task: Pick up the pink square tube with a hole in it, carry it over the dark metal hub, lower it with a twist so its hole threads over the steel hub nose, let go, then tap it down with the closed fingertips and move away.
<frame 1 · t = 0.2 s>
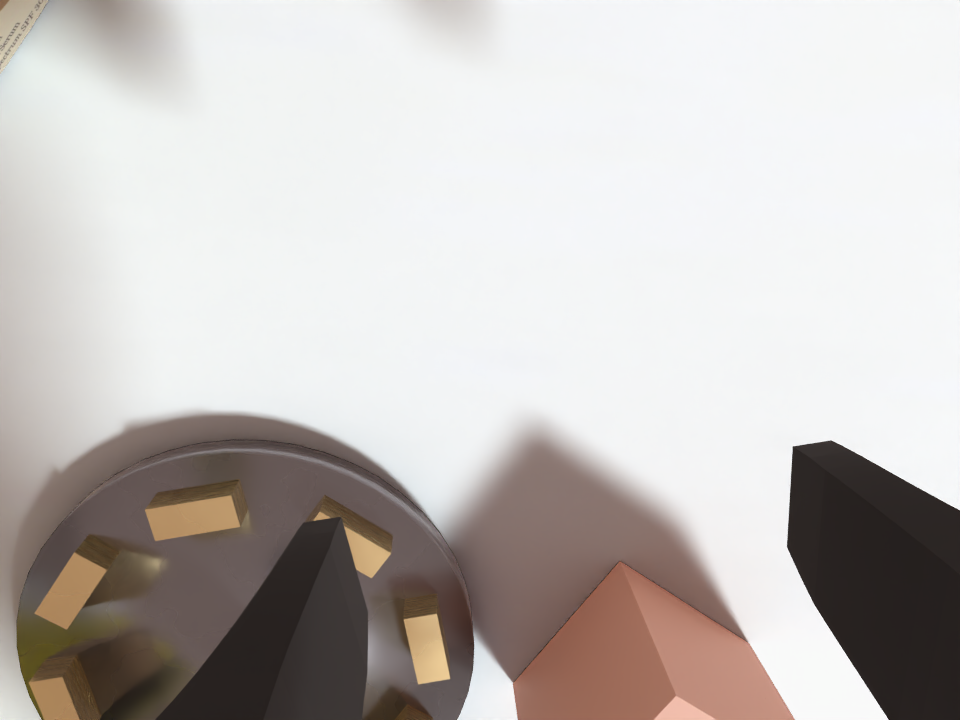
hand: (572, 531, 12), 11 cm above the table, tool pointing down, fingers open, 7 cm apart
pink square tube: (631, 663, 26), on the table
hub: (257, 637, 25), on the table
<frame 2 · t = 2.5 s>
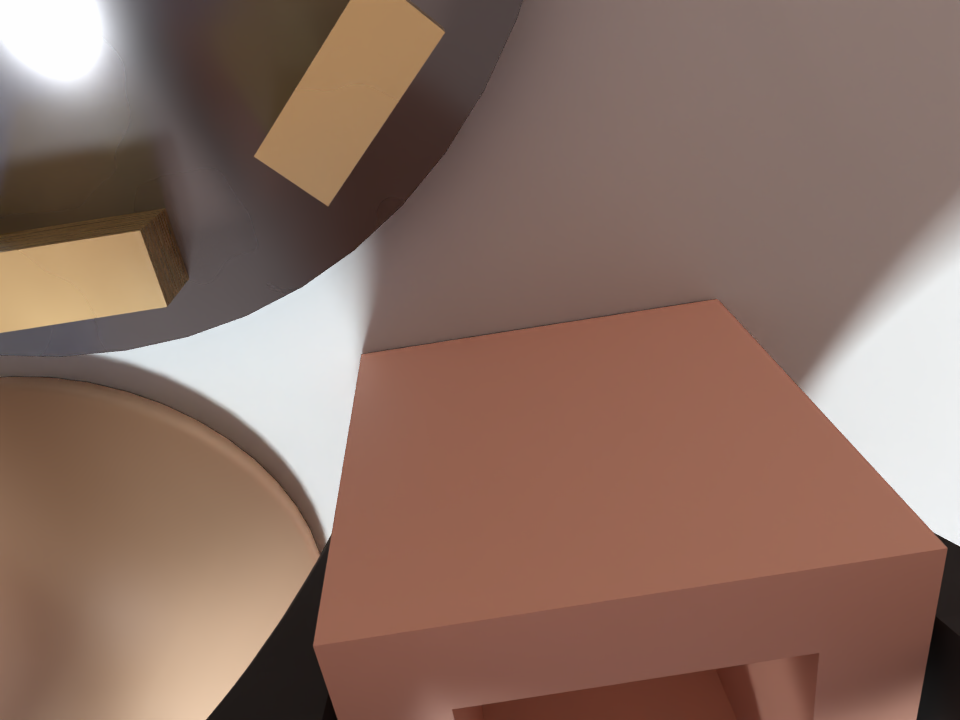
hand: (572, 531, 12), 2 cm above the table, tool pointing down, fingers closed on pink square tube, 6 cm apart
pink square tube: (556, 473, 14), on the table, touching gripper
cork coaster: (79, 592, 14), on the table
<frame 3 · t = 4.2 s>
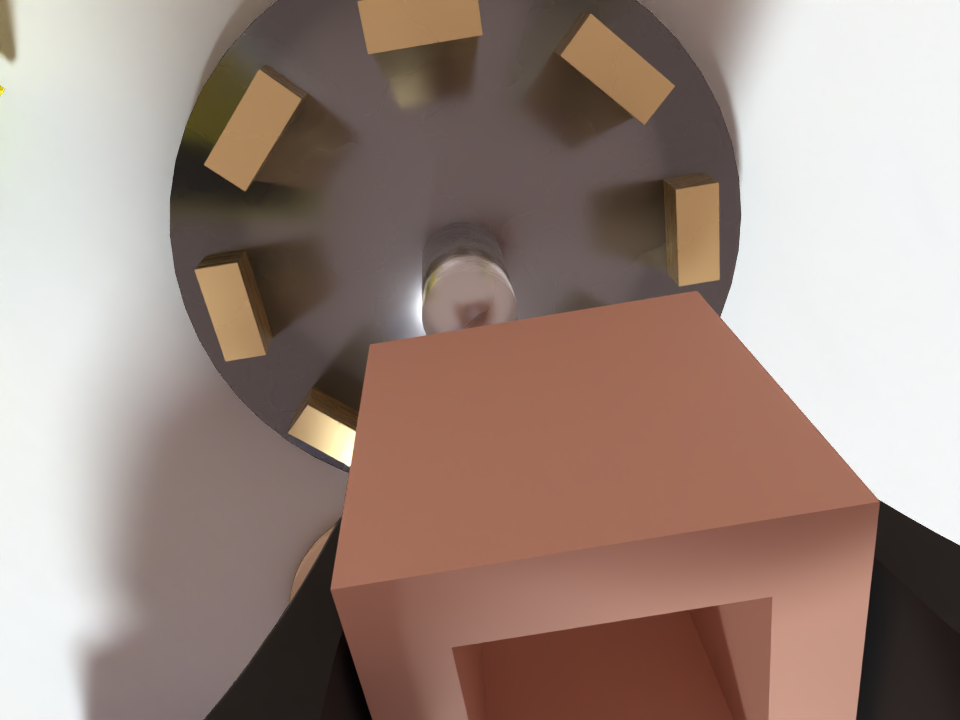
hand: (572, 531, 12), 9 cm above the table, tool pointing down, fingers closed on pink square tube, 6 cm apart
pink square tube: (550, 454, 15), point 7 cm above the table, touching gripper
cork coaster: (429, 605, 25), on the table
hub: (460, 248, 20), on the table
when the fingers open (3 cm above the table, at t = 6.4 s): pink square tube stays where it is, resting on hub.
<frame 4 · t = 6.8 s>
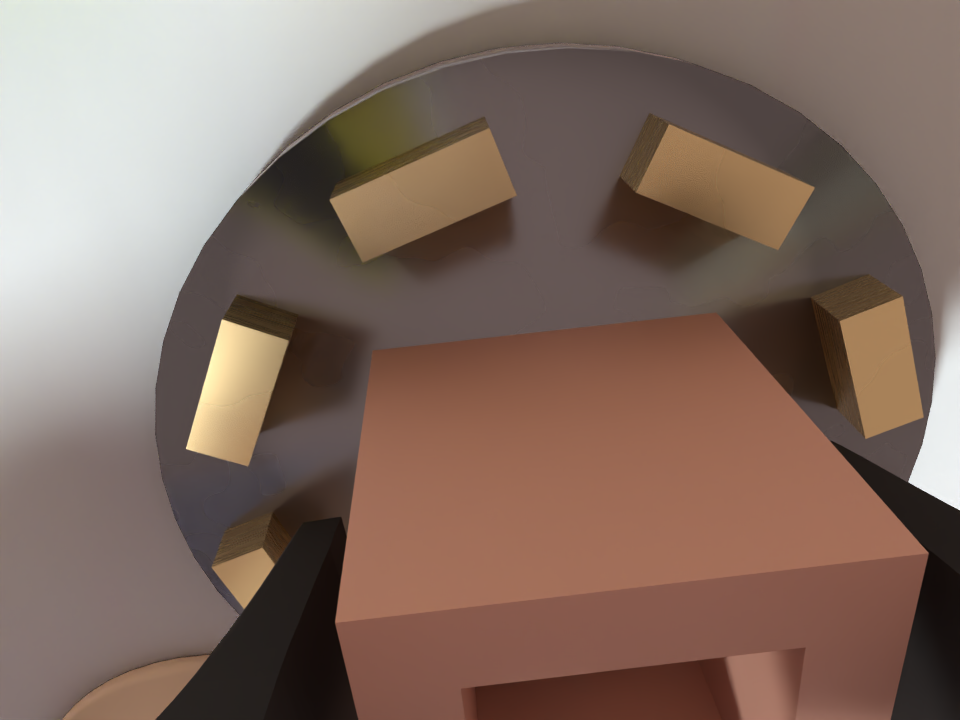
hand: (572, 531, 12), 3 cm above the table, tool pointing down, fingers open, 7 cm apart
pink square tube: (553, 473, 14), point 1 cm above the table, touching hub
hub: (545, 431, 15), on the table
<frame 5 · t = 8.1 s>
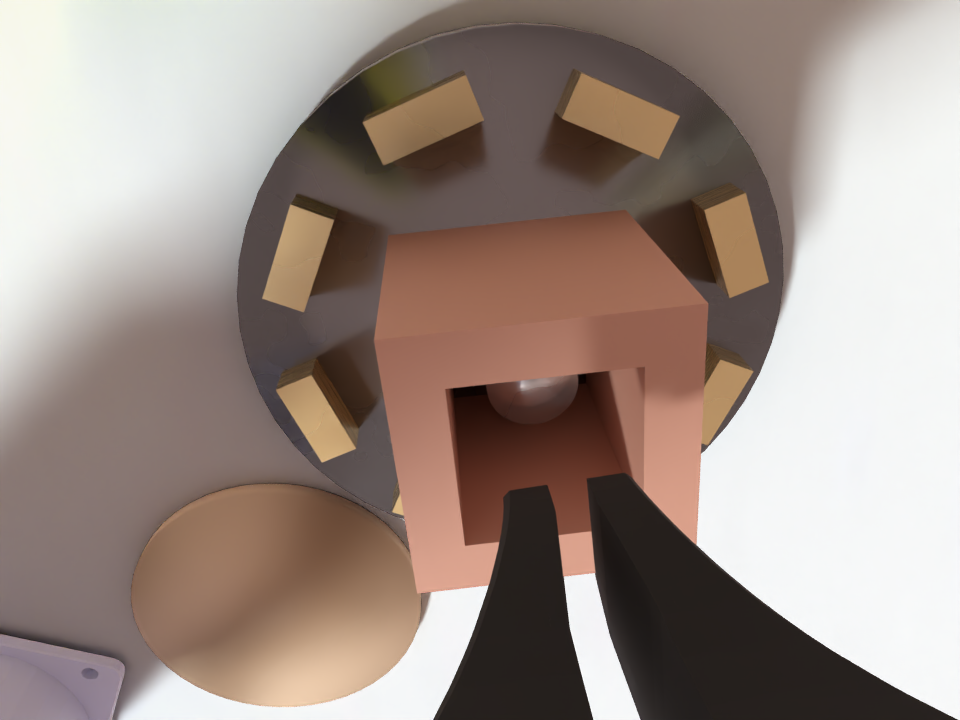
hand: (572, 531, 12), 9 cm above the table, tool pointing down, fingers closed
pink square tube: (515, 330, 20), point 1 cm above the table, touching hub
cork coaster: (281, 597, 25), on the table
hub: (511, 305, 20), on the table
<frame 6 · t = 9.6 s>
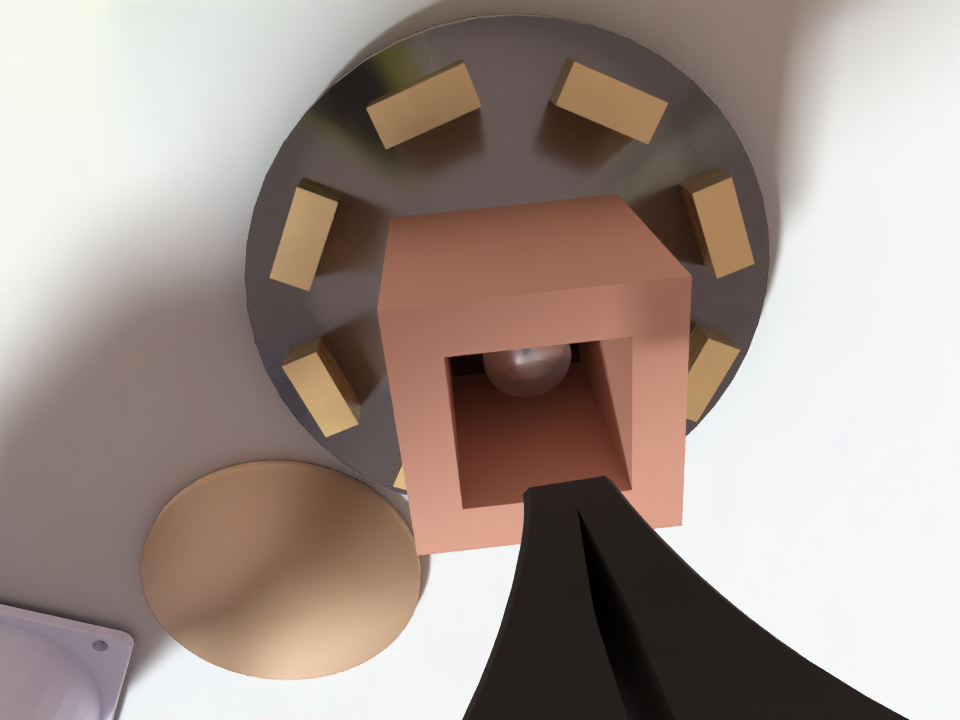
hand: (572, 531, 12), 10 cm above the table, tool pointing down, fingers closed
pink square tube: (512, 310, 21), point 1 cm above the table, touching hub
cork coaster: (285, 572, 25), on the table
hub: (507, 287, 21), on the table
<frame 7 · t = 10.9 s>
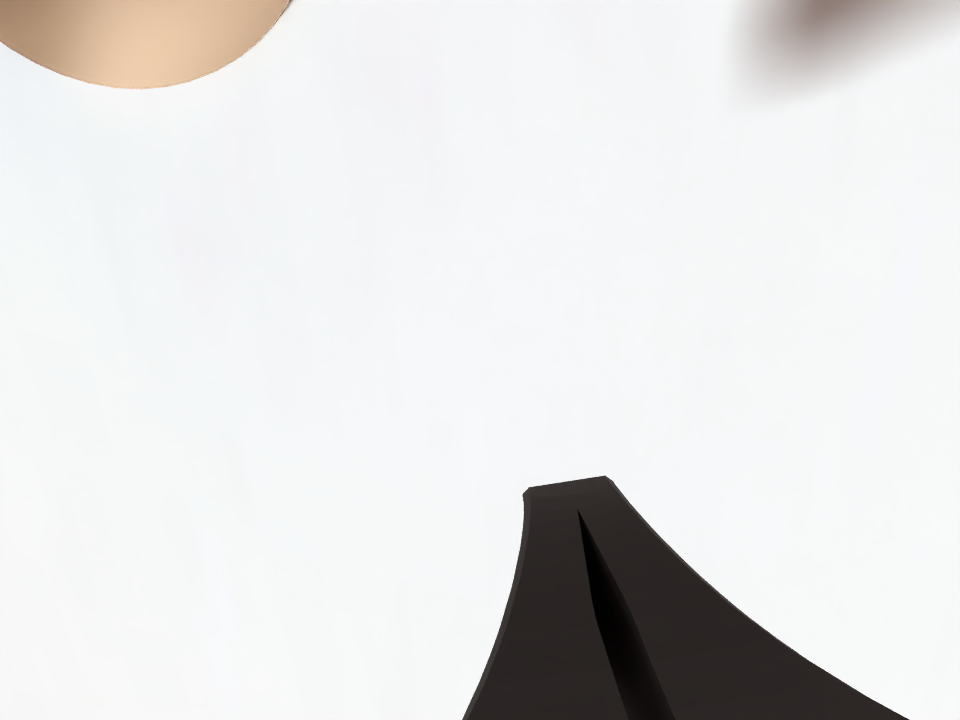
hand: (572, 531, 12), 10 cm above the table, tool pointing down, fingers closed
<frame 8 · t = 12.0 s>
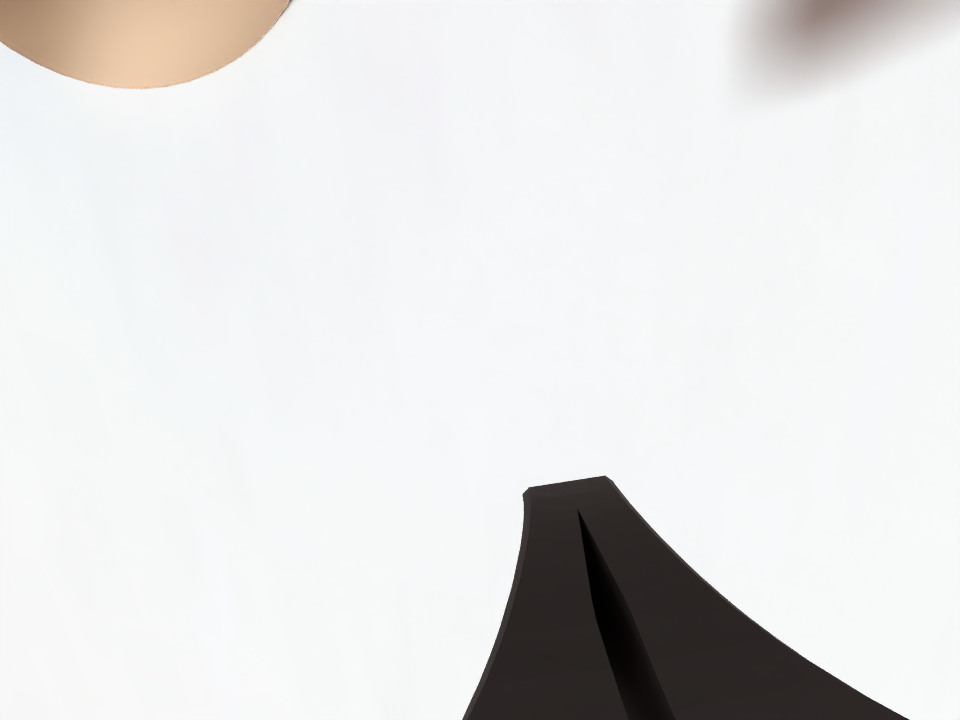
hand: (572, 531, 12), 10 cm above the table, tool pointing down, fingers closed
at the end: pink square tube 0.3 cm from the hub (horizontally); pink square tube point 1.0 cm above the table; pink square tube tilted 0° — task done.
